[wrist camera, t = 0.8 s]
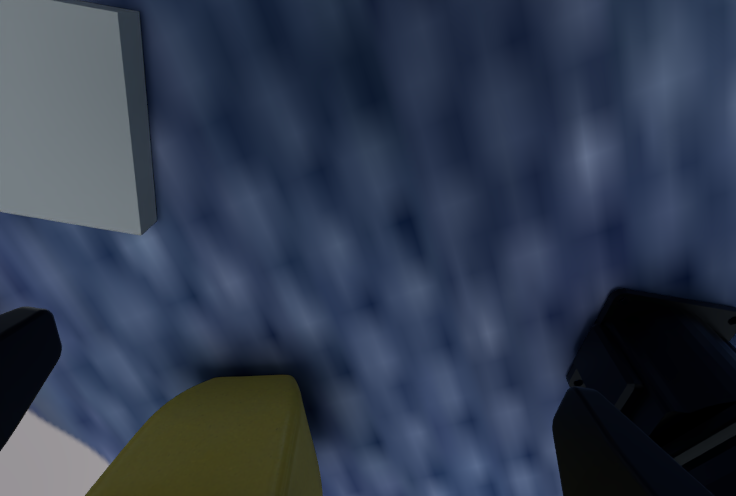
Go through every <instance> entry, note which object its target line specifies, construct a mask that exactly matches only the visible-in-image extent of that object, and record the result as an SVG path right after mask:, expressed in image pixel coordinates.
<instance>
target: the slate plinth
mask: <svg viewBox="0 0 736 496" xmlns="http://www.w3.org/2000/svg"><path fill="white" fill-rule="evenodd" d="M0 212H5V213H11V214H17V215H22V216H28V217H34V218H40V219H46V220H52V221H58V222H64V223H70V224H76V225H82V226H88V227H94V228H100V229H106V230H112V231H118V232H124V233H129V234H135V235H142V234H143V233H144V232H146V231H147V230H148V229H149V228H150V227H151V226H152V225H153V224H154V223H156V222H157V214H156V203H155V191H154V179H153V168H152V156H151V144H150V132H149V121H148V109H147V97H146V85H145V74H144V62H143V50H142V38H141V27H140V15H139V11H133V10H128V9H122V8H117V7H111V6H106V5H100V4H95V3H89V2H84V1H78V0H0Z"/></svg>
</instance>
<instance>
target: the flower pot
mask: <svg viewBox="0 0 736 496" xmlns="http://www.w3.org/2000/svg"><path fill="white" fill-rule="evenodd" d="M85 496H322V485H321V477H320V471H319V466H318V461H317V456H316V453H315V449H314V445H313V441H312V437H311V433H310V430H309V426H308V422H307V418H306V414H305V410H304V406H303V401H302V397H301V393H300V390H299V387H298V384H297V382H296V380H295V379H294V377H292V376H290V375H263V376H236V377H216V378H213V379H210V380H208V381H205V382H203V383H200V384H198V385H196V386H193V387H192V388H190V389H188V390H186V391H184V392H182V393H181V394H179V395H178V396H176V397H175V398H173V399H172V400H170V401H169V402H167V403H166V404H165V405H164V406H162V407H161V408H160V409H159V410H158V411H157V412H156V413H155V414H153V415H152V416H151V417H150V418H149V419H148V421H147V422H146V423H145V424H144V425H143V426H142V427H141V428H140V429H139V431H138V432H137V433H136V434H135V435H134V437H133V438H132V439H131V440H130V441H129V442H128V444H127V445H126V446H125V447H124V448H123V450H122V451H121V452H120V453H119V454H118V456H117V457H116V458H115V459H114V461H113V462H112V463H111V464H110V465H109V467H108V468H107V469H106V470H105V472H104V473H103V474H102V475H101V476H100V478H99V479H98V480H97V481H96V483H95V484H94V485H93V486H92V487H91V489H90V490H89V491H88V492H87V494H86V495H85Z"/></svg>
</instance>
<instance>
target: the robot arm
mask: <svg viewBox="0 0 736 496" xmlns="http://www.w3.org/2000/svg"><path fill="white" fill-rule="evenodd" d="M621 298H624V299H623V300H622V301H619V300H620V299H621ZM731 317H732V318H731ZM730 318H731V319H730ZM735 333H736V308H734V307H729V306H723V305H717V304H711V303H706V302H700V301H694V300H688V299H682V298H676V297H670V296H664V295H658V294H653V293H647V292H641V291H635V290H629V289H617V290H615V291H613V292H612V293H611V294H610V296H609V298H608V300H607V302H606V303H605V305H604V307H603V309H602V311H601V313H600V315H599V317H598V319H597V320H596V322H595V324H594V326H593V327H592V328H591V329H590V331H589V333H588V335H587V337H586V339H585V341H584V343H583V344H582V346H581V348H580V350H579V352H578V354H577V356H576V358H575V360H574V364H573V366H572V368H571V369H570V371H569V373H568V375H567V378H566V379H567V382H568V384H569V386H570V387H571V388H569V389H568V390H567V392H566V394H565V396H564V398H563V400H562V402H561V404H560V406H559V408H558V410H557V412H556V414H555V416H554V419H553V425H552V430H553V437H554V443H555V449H556V455H557V461H558V467H559V473H560V479H561V485H562V491H563V496H736V348H735V347H734V346H733V345H732V344H731V343H730V342H729V341H730V340H731V339H732V337H733V336H734V335H735ZM61 350H62V345H61V341H60V337H59V334H58V330H57V327H56V323H55V319H54V316H53V314H52V313H51V312H50V311H49V310H46V309H40V308H34V307H20V308H17V309H14V310H12V311H9V312H6V313H4V314H1V315H0V451H1V449H2V448H3V447H4V445H5V444H6V442H7V441H8V439H9V438H10V436H11V435H12V433H13V432H14V431H15V429H16V427H17V426H18V424H19V423H20V421H21V419H22V418H23V416H24V415H25V413H26V411H27V410H28V408H29V407H30V405H31V403H32V402H33V400H34V399H35V397H36V395H37V394H38V392H39V391H40V389H41V387H42V386H43V384H44V382H45V381H46V379H47V378H48V376H49V374H50V373H51V371H52V370H53V368H54V366H55V365H56V363H57V362H58V360H59V357H60V355H61ZM576 380H577V381H576Z"/></svg>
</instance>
